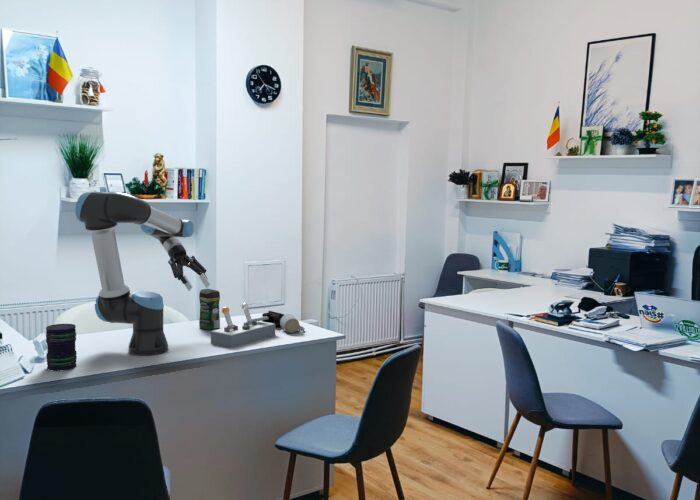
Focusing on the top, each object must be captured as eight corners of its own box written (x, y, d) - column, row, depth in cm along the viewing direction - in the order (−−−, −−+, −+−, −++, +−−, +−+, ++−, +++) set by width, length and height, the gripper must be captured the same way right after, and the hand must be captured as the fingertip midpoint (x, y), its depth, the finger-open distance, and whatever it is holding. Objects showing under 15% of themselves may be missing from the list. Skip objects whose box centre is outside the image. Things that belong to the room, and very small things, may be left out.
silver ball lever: (245, 326, 273) (238, 304, 274) (251, 325, 276) (244, 303, 277) (250, 324, 271) (243, 302, 273) (256, 322, 274) (249, 301, 276)
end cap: (286, 326, 297) (286, 313, 297) (274, 329, 292) (274, 314, 292) (273, 323, 304) (273, 310, 304) (261, 325, 299) (261, 311, 299)
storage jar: (49, 372, 217) (48, 330, 215) (44, 366, 225) (43, 325, 223) (79, 368, 223) (78, 327, 221) (73, 362, 231) (72, 322, 229)
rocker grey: (251, 321, 279) (251, 318, 279) (258, 320, 283) (257, 317, 283) (262, 320, 275) (261, 317, 276) (268, 318, 279) (268, 315, 279)
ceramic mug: (285, 334, 282) (285, 317, 281) (279, 330, 289) (280, 314, 288) (307, 333, 286) (307, 316, 285) (301, 329, 293) (301, 313, 293)
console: (210, 343, 263) (210, 327, 262) (255, 331, 286) (255, 316, 285) (231, 347, 256) (231, 331, 255) (275, 335, 279) (275, 320, 279)
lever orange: (226, 331, 263) (219, 308, 264) (232, 329, 266) (225, 307, 267) (231, 329, 261) (223, 306, 263) (237, 327, 264) (229, 305, 266)
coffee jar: (196, 328, 291) (196, 288, 289) (209, 325, 297) (209, 287, 295) (209, 331, 285) (209, 291, 283) (222, 328, 291) (222, 289, 289)
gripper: (189, 252, 291) (213, 289, 283) (150, 256, 272) (175, 296, 265) (197, 242, 287) (222, 279, 280) (158, 245, 269) (184, 284, 261)
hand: (199, 287), depth 272 cm, fingers open, 10 cm apart
